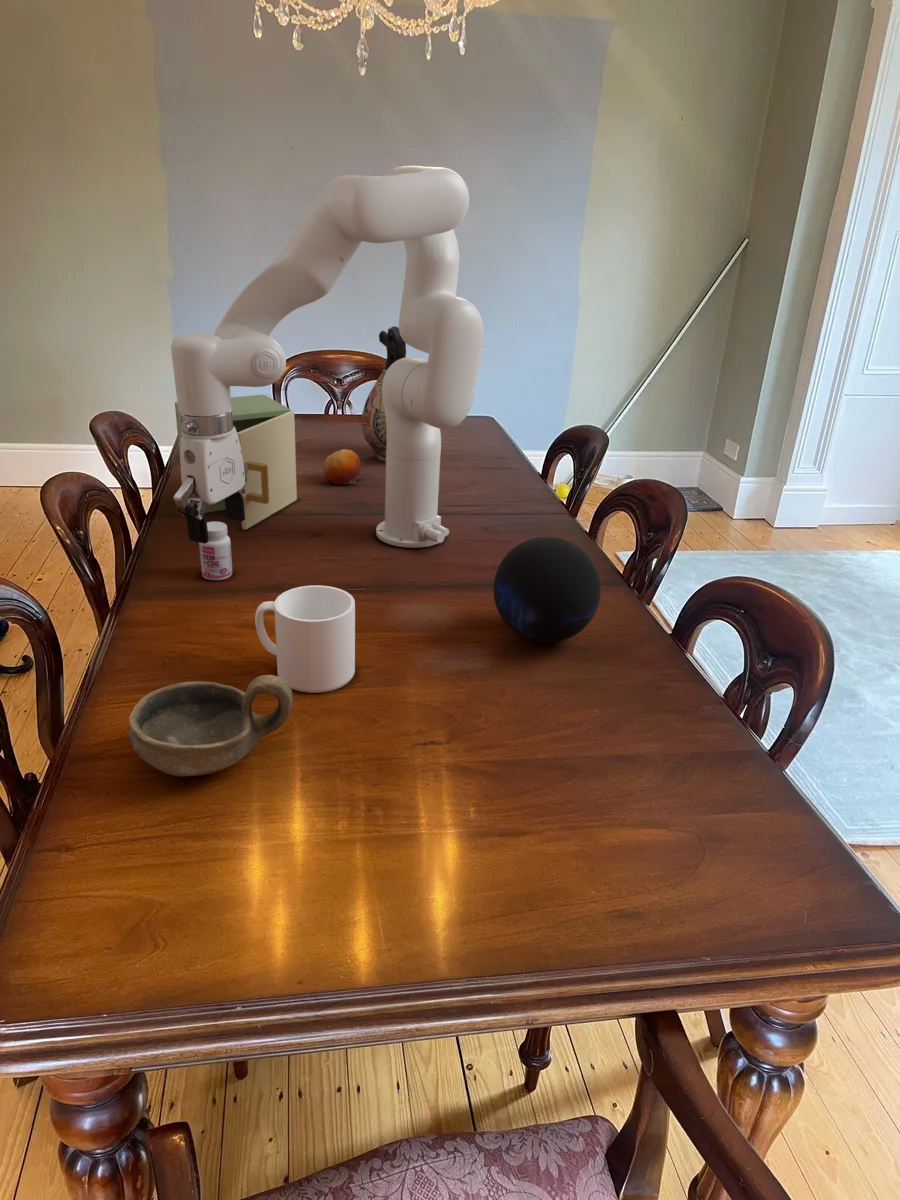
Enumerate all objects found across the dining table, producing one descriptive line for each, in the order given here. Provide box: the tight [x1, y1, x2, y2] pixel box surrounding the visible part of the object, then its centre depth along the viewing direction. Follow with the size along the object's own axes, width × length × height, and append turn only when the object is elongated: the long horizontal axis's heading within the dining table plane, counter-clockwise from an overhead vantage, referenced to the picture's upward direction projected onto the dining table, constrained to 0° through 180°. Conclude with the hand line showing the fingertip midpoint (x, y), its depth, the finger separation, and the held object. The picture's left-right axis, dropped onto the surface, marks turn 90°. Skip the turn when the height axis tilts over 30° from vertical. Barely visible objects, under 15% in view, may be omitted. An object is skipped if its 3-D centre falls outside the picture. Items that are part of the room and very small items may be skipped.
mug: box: [254, 584, 356, 694], centre depth 107 cm, size 13×10×10 cm
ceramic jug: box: [361, 326, 407, 462], centre depth 187 cm, size 17×15×30 cm
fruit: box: [322, 448, 362, 486], centre depth 176 cm, size 8×8×8 cm
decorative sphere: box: [493, 536, 602, 644], centre depth 118 cm, size 15×15×15 cm
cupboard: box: [174, 394, 292, 514], centre depth 162 cm, size 13×18×18 cm
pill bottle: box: [198, 521, 233, 581], centre depth 132 cm, size 5×5×8 cm
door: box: [237, 410, 298, 531], centre depth 153 cm, size 5×18×18 cm, turn 159°
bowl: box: [127, 674, 294, 777], centre depth 90 cm, size 14×18×10 cm
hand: (218, 530), depth 130 cm, fingers open, 9 cm apart
